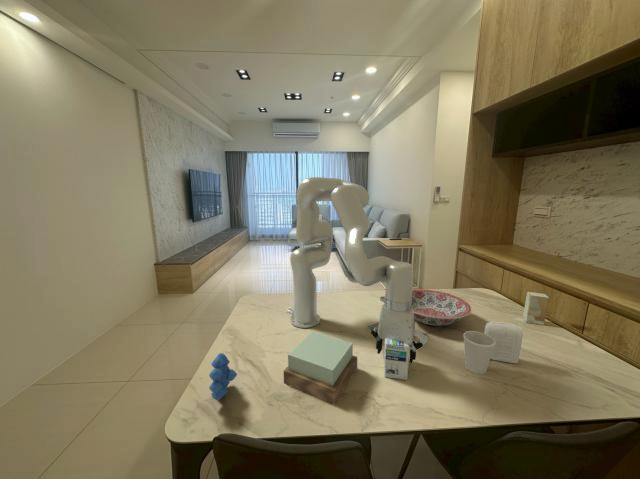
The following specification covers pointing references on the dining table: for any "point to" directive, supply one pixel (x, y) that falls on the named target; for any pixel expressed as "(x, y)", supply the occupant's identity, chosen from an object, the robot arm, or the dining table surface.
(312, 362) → the tower top block
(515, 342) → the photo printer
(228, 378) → the grapes
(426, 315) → the ceramic bowl
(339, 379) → the tower base block
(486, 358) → the dixie cup
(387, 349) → the light bulb box
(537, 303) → the skincare box
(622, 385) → the dining table surface
